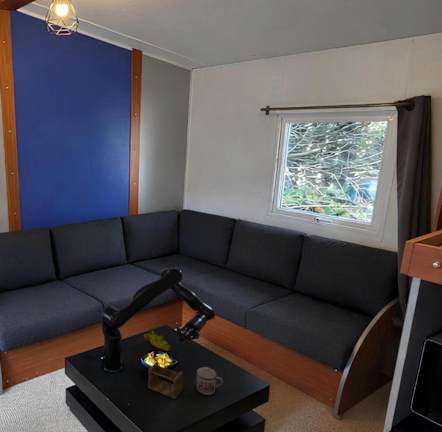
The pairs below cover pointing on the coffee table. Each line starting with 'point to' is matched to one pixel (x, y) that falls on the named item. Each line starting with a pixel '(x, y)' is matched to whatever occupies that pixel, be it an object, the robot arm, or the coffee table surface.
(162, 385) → the wooden caddy
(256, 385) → the coffee table surface
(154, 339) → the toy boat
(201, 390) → the teacup with lid
